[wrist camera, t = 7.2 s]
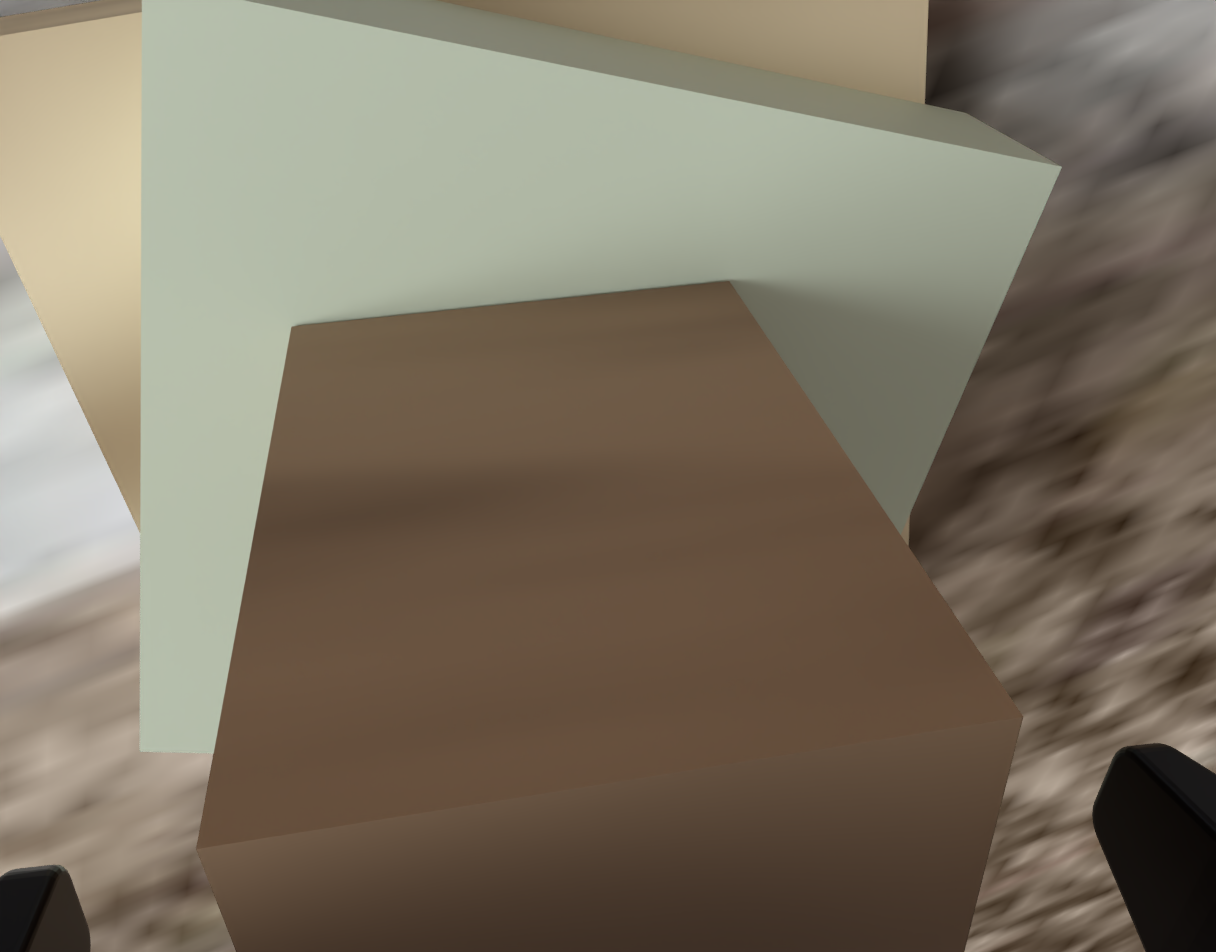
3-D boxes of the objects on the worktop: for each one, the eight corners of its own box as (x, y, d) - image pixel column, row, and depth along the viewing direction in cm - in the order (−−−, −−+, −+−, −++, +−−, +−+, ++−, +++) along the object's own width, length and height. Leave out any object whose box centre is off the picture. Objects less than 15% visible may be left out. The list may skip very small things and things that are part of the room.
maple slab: (855, 541, 22) (905, 621, 20) (263, 668, 21) (250, 765, 19) (857, -134, 15) (932, -122, 13) (-18, 11, 14) (-88, 49, 12)
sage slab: (754, 664, 19) (798, 768, 17) (169, 633, 17) (139, 751, 15) (965, 112, 15) (1061, 166, 12) (183, -54, 12) (142, -21, 10)
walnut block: (720, 609, 15) (922, 1118, 9) (364, 658, 15) (346, 1235, 9) (728, 281, 12) (1023, 716, 7) (291, 326, 12) (197, 849, 6)
